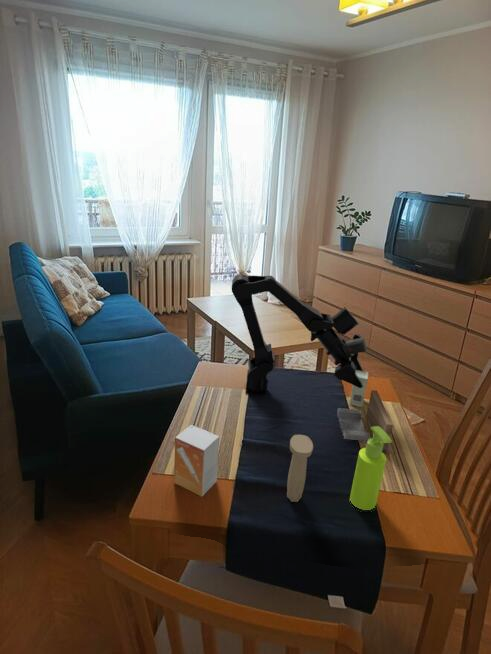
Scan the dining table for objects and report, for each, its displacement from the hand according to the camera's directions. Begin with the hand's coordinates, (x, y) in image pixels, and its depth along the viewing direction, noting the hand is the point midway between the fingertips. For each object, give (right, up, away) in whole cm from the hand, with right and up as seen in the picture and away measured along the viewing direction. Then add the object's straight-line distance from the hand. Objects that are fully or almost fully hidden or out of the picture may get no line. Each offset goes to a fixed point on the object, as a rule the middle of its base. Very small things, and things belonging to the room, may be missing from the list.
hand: (362, 380), depth 140 cm
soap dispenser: (-10, -24, -40) cm, 47 cm away
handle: (-26, -22, -39) cm, 52 cm away
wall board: (0, -14, -13) cm, 19 cm away
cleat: (-6, -12, -11) cm, 17 cm away
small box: (-49, -20, -37) cm, 65 cm away
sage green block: (-1, -7, +3) cm, 8 cm away
